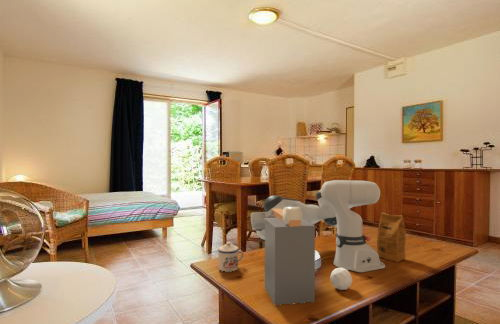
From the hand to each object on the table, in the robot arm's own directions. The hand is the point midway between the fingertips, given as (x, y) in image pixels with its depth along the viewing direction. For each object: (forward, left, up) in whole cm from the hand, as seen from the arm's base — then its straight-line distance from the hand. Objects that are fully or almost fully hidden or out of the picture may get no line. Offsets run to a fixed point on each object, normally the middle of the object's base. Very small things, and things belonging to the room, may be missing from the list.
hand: (278, 211), depth 116 cm
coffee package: (-62, -15, -28) cm, 69 cm away
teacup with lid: (+17, -16, -28) cm, 36 cm away
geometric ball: (-21, +12, -28) cm, 37 cm away
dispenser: (0, +13, -27) cm, 30 cm away
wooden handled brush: (0, +8, -1) cm, 8 cm away
